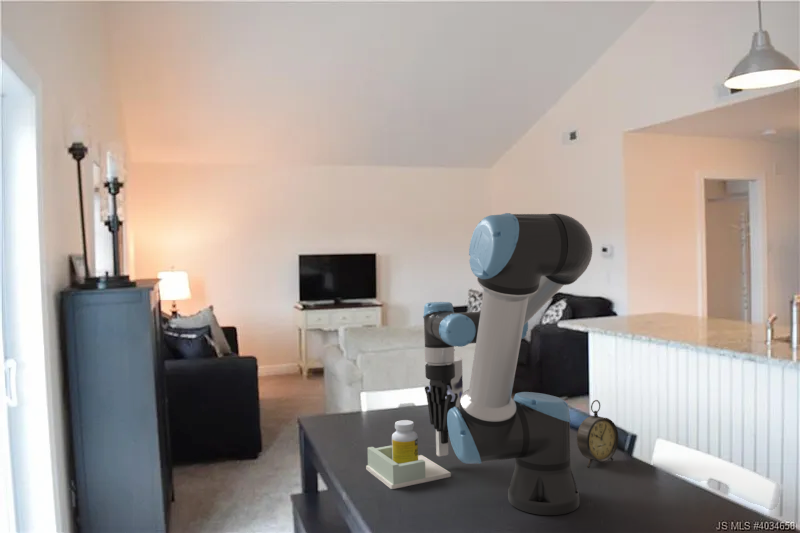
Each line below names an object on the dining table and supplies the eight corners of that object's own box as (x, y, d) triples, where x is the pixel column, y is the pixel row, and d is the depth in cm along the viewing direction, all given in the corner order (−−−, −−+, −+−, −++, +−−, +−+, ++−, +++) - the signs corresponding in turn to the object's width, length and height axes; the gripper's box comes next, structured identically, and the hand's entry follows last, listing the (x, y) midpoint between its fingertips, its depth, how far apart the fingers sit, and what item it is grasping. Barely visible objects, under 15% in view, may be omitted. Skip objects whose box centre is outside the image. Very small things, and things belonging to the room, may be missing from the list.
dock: (450, 476, 150) (450, 454, 150) (391, 489, 143) (390, 465, 143) (421, 458, 164) (421, 438, 164) (366, 469, 157) (365, 447, 157)
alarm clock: (589, 470, 152) (588, 405, 152) (573, 464, 157) (572, 400, 157) (620, 462, 158) (619, 399, 157) (603, 456, 162) (602, 395, 162)
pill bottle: (415, 474, 150) (414, 426, 150) (389, 472, 151) (388, 425, 151) (420, 465, 156) (419, 419, 156) (395, 463, 158) (394, 418, 157)
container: (464, 423, 195) (463, 360, 195) (433, 424, 196) (431, 361, 195) (462, 415, 205) (460, 355, 205) (431, 415, 206) (430, 356, 205)
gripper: (466, 364, 153) (468, 459, 153) (439, 357, 165) (442, 446, 165) (440, 368, 150) (442, 464, 150) (414, 360, 161) (417, 450, 162)
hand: (442, 454), depth 158 cm, fingers closed
